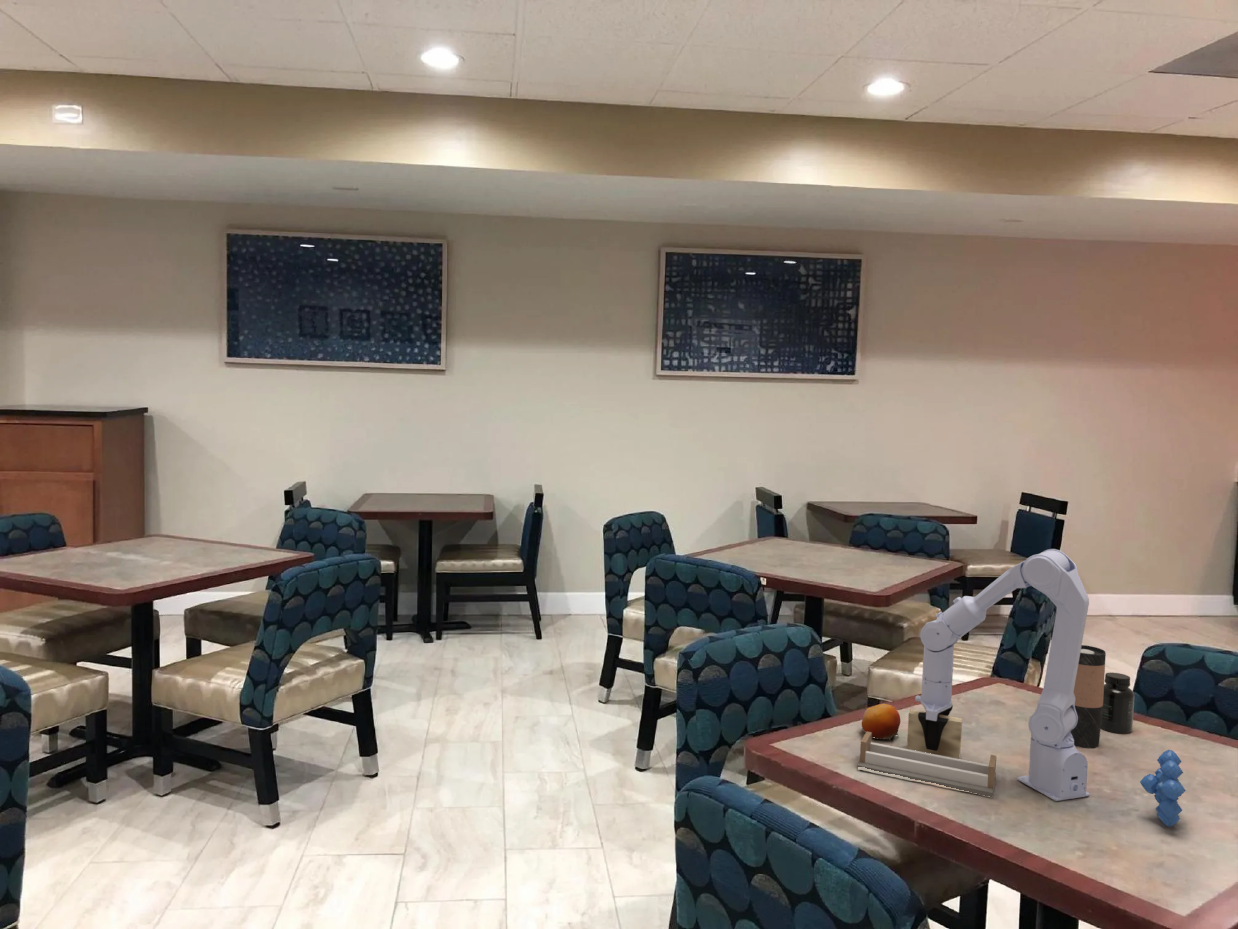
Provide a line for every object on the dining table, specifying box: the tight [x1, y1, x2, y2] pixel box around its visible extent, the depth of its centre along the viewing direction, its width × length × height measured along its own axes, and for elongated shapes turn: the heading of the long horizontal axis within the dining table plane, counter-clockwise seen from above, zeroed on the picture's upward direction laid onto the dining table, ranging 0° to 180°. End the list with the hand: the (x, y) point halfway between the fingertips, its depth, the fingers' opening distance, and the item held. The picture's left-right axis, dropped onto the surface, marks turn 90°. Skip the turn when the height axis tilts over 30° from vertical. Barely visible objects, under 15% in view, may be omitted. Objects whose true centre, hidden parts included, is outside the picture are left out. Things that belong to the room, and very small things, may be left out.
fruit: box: [861, 703, 901, 741], centre depth 186 cm, size 8×8×8 cm
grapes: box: [1139, 749, 1186, 828], centre depth 150 cm, size 12×7×12 cm, turn 152°
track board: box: [857, 732, 997, 798], centre depth 167 cm, size 24×10×5 cm, turn 63°
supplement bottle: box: [1100, 671, 1135, 735], centre depth 193 cm, size 7×7×12 cm
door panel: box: [906, 709, 963, 759], centre depth 177 cm, size 10×2×8 cm, turn 63°
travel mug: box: [1071, 644, 1107, 749], centre depth 185 cm, size 8×8×20 cm
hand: (933, 744), depth 177 cm, fingers open, 6 cm apart
